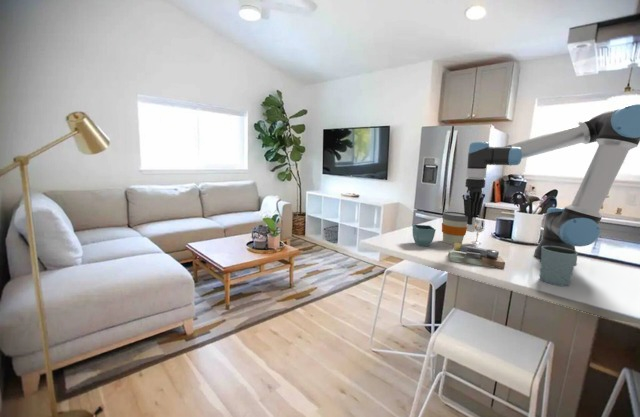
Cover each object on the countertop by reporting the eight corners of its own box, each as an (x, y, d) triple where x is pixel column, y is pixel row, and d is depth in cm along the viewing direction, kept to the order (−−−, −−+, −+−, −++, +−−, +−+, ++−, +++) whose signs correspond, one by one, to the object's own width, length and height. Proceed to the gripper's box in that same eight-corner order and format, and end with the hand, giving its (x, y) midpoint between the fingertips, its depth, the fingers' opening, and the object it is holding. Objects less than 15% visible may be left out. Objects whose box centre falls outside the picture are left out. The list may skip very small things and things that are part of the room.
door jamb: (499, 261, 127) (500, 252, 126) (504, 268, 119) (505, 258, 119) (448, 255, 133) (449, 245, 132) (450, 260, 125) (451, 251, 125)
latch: (452, 250, 129) (453, 243, 129) (454, 248, 133) (455, 241, 132) (497, 259, 121) (499, 251, 120) (498, 256, 125) (499, 249, 124)
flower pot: (434, 247, 143) (436, 229, 141) (415, 246, 143) (417, 228, 142) (427, 242, 152) (429, 225, 150) (410, 241, 152) (412, 224, 150)
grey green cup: (578, 288, 103) (585, 255, 101) (545, 285, 105) (551, 252, 103) (560, 277, 113) (566, 246, 111) (530, 274, 114) (536, 243, 112)
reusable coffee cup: (434, 239, 159) (437, 211, 156) (454, 238, 162) (458, 211, 159) (449, 246, 147) (453, 216, 144) (471, 245, 150) (475, 216, 147)
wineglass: (484, 245, 152) (487, 222, 150) (471, 243, 153) (475, 220, 151) (480, 242, 158) (483, 219, 156) (468, 240, 159) (471, 218, 157)
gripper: (476, 177, 137) (471, 228, 140) (458, 178, 130) (453, 231, 134) (493, 178, 130) (487, 231, 134) (474, 179, 124) (469, 234, 128)
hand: (470, 231), depth 134 cm, fingers closed
